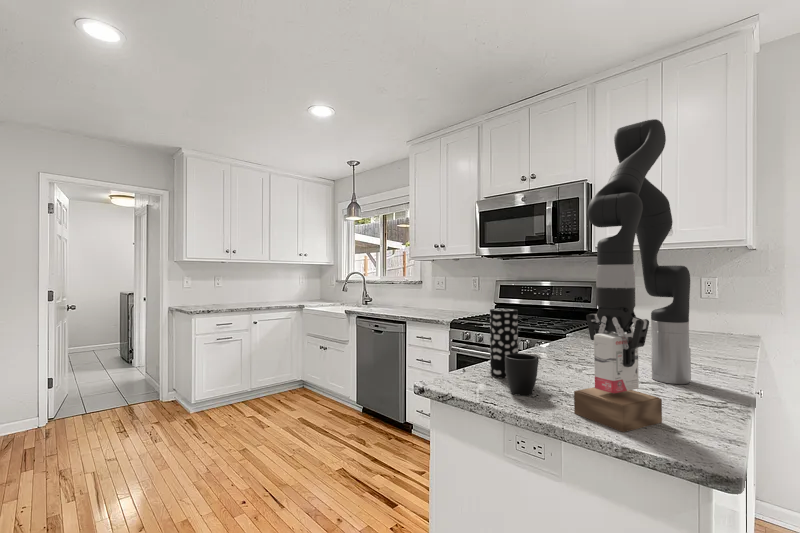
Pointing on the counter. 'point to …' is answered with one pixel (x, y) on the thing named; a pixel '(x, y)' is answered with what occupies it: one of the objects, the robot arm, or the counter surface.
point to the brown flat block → (618, 408)
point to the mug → (521, 373)
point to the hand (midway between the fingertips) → (616, 363)
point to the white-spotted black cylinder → (502, 339)
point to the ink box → (613, 365)
